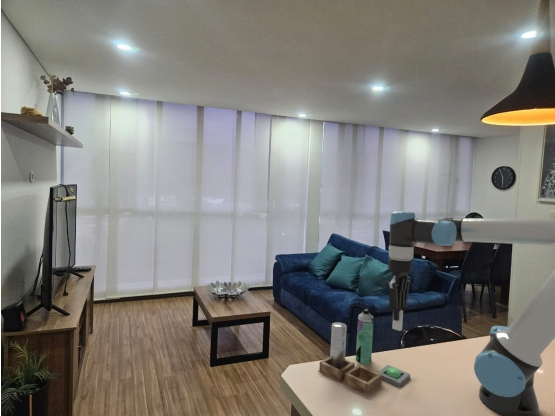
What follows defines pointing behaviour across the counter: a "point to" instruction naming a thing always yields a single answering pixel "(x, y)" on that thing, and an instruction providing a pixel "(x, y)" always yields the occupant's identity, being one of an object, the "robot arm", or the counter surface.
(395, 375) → the button
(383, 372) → the gray square frame
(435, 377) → the counter surface
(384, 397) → the counter surface
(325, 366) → the wooden double crate
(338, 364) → the seated billet
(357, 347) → the spray can
